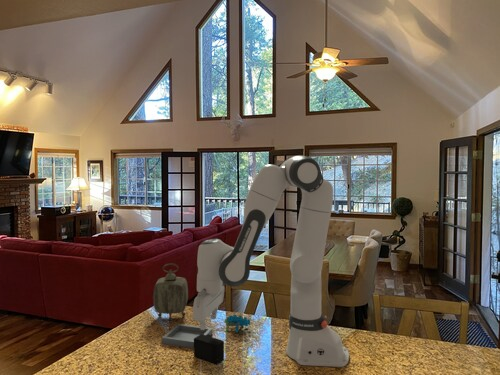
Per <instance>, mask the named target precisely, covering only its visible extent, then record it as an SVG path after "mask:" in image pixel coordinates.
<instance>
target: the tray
mask: <svg viewBox="0 0 500 375" xmlns="http://www.w3.org/2000/svg"><path fill="white" fill-rule="evenodd" d="M213 332H214V331H213V328H212V327H207V326H206V329H205V330H201V329H200V325H199V326H197V325H190V324H182V323H177V324H176V325H175V326H174V327H172V328H171V329H170V330H169V331H168V332H166V334H164V335H163V336H162V337H161V344H162V345H166V346H173V347H180V348H187V349H192V350H194V338H195V337H197V336H199V335H201V334H203V335H210V336H213Z"/></svg>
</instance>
